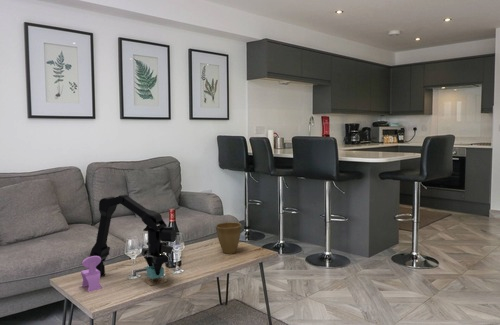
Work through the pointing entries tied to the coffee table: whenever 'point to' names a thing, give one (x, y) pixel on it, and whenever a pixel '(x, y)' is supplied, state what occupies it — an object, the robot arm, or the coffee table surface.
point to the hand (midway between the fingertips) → (155, 273)
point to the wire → (138, 271)
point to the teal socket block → (152, 273)
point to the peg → (155, 281)
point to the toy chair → (91, 273)
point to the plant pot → (228, 236)
